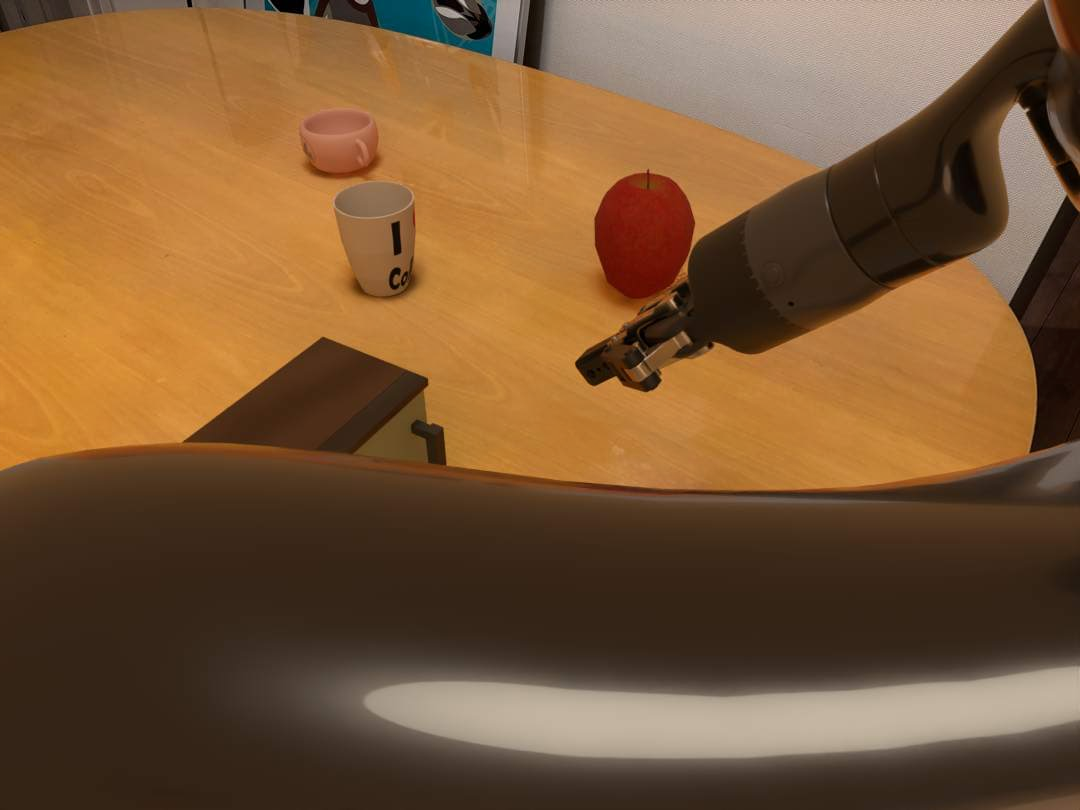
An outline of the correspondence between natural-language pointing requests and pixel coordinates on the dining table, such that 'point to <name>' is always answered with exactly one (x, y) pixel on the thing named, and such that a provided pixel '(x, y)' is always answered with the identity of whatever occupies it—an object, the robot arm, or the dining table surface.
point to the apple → (643, 234)
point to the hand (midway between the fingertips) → (587, 369)
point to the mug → (339, 139)
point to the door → (408, 437)
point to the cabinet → (317, 402)
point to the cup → (378, 234)
